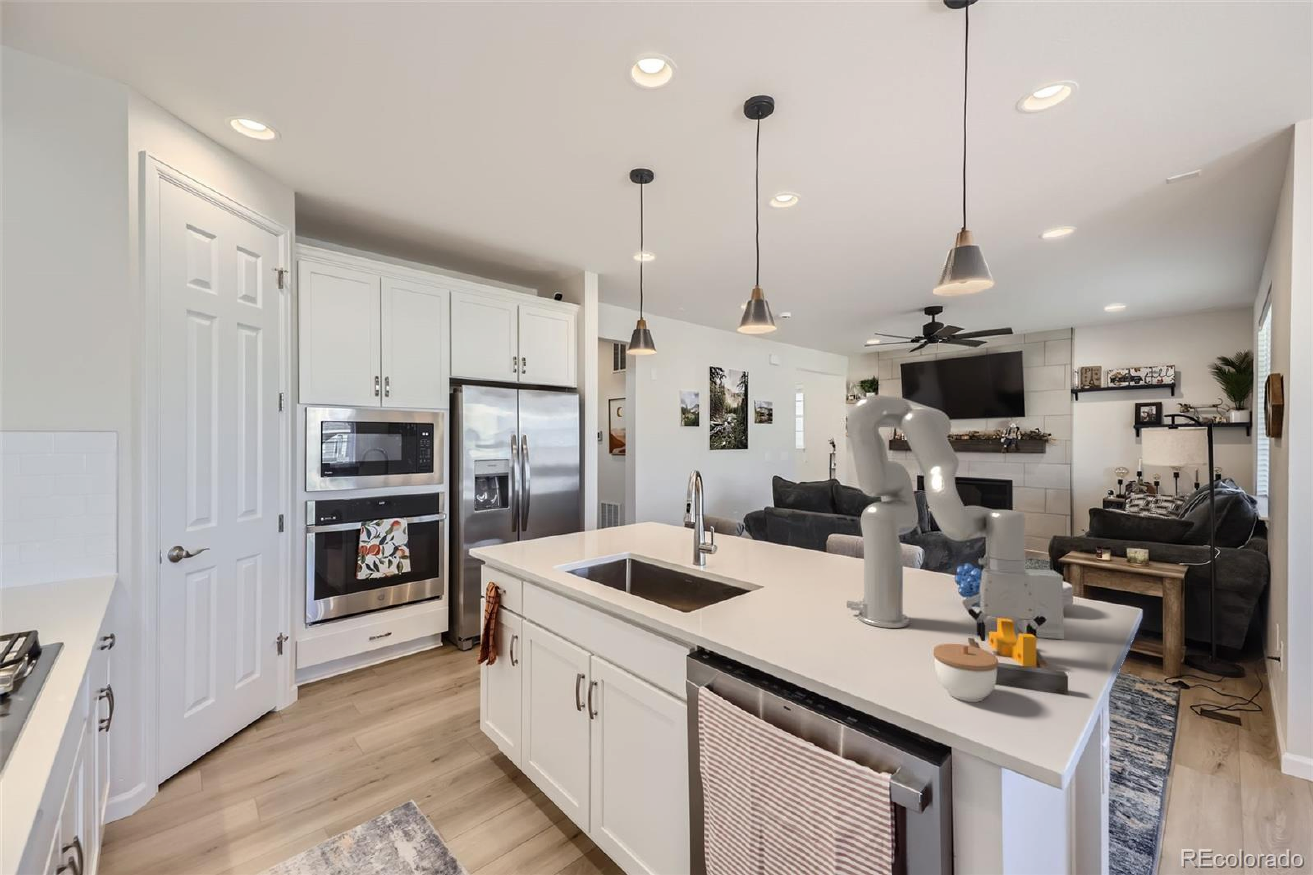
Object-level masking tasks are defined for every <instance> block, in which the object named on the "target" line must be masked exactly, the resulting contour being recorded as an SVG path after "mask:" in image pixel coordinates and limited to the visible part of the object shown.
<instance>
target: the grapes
mask: <svg viewBox="0 0 1313 875" xmlns="http://www.w3.org/2000/svg"><path fill="white" fill-rule="evenodd" d="M982 571H983V570H981V569H980V568H975V567H974V566H973V565H972V564H971V563H965V564H963V565H959V566H957V568H956V573H957V574H956V575H955V576H954V582H955V584H956V585H958V586H959V587H958V589H957V591H958V592H957V593H958V594H959V595H960V596H961V597H963V598H965V599H967V598H970V597H972V596H975V595H977V594H979V592H980V581H981V575H982ZM975 606H977V607H978V608H980V606H979V602H976V603H974V604H972V605H971V607H975Z"/></svg>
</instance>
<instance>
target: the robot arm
mask: <svg viewBox="0 0 1313 875" xmlns="http://www.w3.org/2000/svg"><path fill="white" fill-rule="evenodd" d="M846 426H847V427H846V428H847V434H848V437H849V441H850V445H851V449H852V453H853V454H852V455H853V461H854V467H855V471H856V477H857V481H858V486H859V488H860V490H861V492H862V493H863V494H864V495H866V496H868V497H872V498H874V497H875V498H877V497H878V498H879V497H880V499H881V501H876V502H873V503H870V504H869V505H868V506H866V507H865V508H864V510H863V511H862V513H861V516H860V527H861V528H860V529H861V534H862V540H863V563H864V564H863V566H864V567H863V568H864V569H863V572H864V573H863V577H864V579H863V580H864V581H863V582H864V583H863V584H864V585H863V589H864V590H863V592H864V593H863V594H864V595H863V596H864V598H863V599H862V600H859V601H854V600H853V601H852V600H846V608H847V609H850V610H851V611H858V613H857V616H858V617H857V618H858V619H859V620H860V621H861V622H862V623H865V624H868V625H870V626H874V627H878V628H888V629H892V628H893V629H897V628H898V629H900V628H904V627H907V626H908V625H909V624H910V618H909V617H908V616H907V615H906V614H904V609H903V607H904V606H903V603H904V599H903V598H904V592H903V590H904V586H903V585H904V584H903V583H904V580H903V579H904V573H903V572H904V564H903V562H904V561H903V560H904V558H903V556H904V555H903V548H902V545H901V542H900V537H899V536H902V535H905V534H909V533H910V532H912V531H913V530H914V529H915V528H916V527H917V525H918V522H919V512H918V506H917V501H916V497H915V492H914V487H913V482H912V479H911V476H910V473H909V471H908V470H907V468H906V467H905V466H904V465H902V464H901V463H900V462H897V461H894V460H889V458H888V457H889V456H888V454H887V447H886V444H885V441H884V439H883V437H882V435H881V433H880V430H879V429H880V428H894V429H898V430H900V431H902V433H903V435H904V437H905V439H906V441H907V443H908V445H909V448H910V449H911V451H912V453H913V455H914V457H915V460H916V461H917V463H918V466H919V467H920V469H921V472H922V473H923V486H924V493H925V494H924V495H925V499H926V502H927V505H928V508H929V510H930V513H931V514H932V517H933V519H934V520H935V522H936V525H937V526H938V528H939V529H940V531H941V532H942V533H943V534H944V535H945V536H946V537H947V538H948V539H950V540H953V541H957V542H964V541H969V540H972V539H977V538H985V556H984V557H982V558H978V564H979V565H983V566H984V567H985V568H983V569H982V570H981V571H982V575H981V581H980V592H979V594H977V595H975V596H972V597H970V598H967V599H966V598H965V599H963V600H962V605H963V607H964V608H965V610H966V611H967V612H968V615H969V616H970V617H972V618H973V619H974V620H975V621H976V636H977V637H979V639H980V641H981V642H986V623H985V622H984V621H985V620H986V619H987V618H988V617H991V618H1001V619H1010V620H1018V621H1019V620H1027V622H1028V625H1027V626H1026V631H1027V634H1032V635H1034V636H1035V637H1036V629H1038V628H1039V626H1040V625H1042V624H1043V623H1045V622H1046V619H1047V618H1048V617H1049V616H1050V614H1051V613H1052V611H1051V610H1050V609H1049V608H1048V607H1046V606H1044V605H1042V604H1041V603H1039V602H1037V601H1035V600H1034V597H1033V588H1032V582H1031V577H1030V574H1029V573H1027V572H1025V569H1026V518H1025V515H1024V513H1022V512H1020V511H1018V510H1011V509H993V508H988V507H984V506H980V505H967V506H965V505H964V503H963V501H962V499H961V497H960V495H959V492H958V490H957V486H956V474H957V472H958V469H959V466H960V460H959V458H958V456H957V454H956V452H955V450H954V449H953V447H952V445H951V443H950V441H949V439H948V436H949V435H950V434H951V431H952V423H951V420H950V418H949V416H948V415H947V414H946V413H945V412H943V411H942V410H939V409H938V408H934V407H931V406H928V405H924V404H921V403H918V402H915V401H913V400H909V399H907V398H903V397H898V396H892V395H891V396H890V395H879V394H874V395H868V396H865V397H862V398H860V399H859V400H858V401H857V402H855V404H853V406H852V407H851V409H850V411H849V412H848V415H847V420H846ZM976 602H979V606H980V607H979V608H980V609H979V611H978V612H976V610H975V609H974V608H973V606H971V605H972V604H974V603H976ZM1034 607H1036V608H1037V609H1039V610H1041V613H1040V615H1039V616H1037V617H1036V618H1035V619H1033V618H1034ZM1036 638H1037V637H1036Z"/></svg>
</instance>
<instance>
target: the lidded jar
mask: <svg viewBox="0 0 1313 875" xmlns="http://www.w3.org/2000/svg"><path fill="white" fill-rule="evenodd" d="M933 659H934V660H933V662H934V670H935V675H936V677H937V679H938V681H939V684H941V687H943V688H944V689H945V690H946V693H947V692H948V693H949V694H948V693H947V694H948V695H949V696H950V697H952V696H953V698H954V699H957V700H960V701H963V702H970V703H978V702H979V701H980V702H982V701H983V700H984V699H985V698H986V697H987V696H989V695H990V694H991V693H992V692H993V690H994V688H996V687H995V686H996V684H995V683H996V679H997V667H998V663H999V660H998V658H997V657H996V656H995V654H993V653H991V652H990V651H987V650H985V649H982V648H980V647H978V648H976V647H973V646H970V645H967V644H965V643H963V644H960V643H959V644H958V643H943V644H938V645H936V646H935V647H934V648H933Z"/></svg>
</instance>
